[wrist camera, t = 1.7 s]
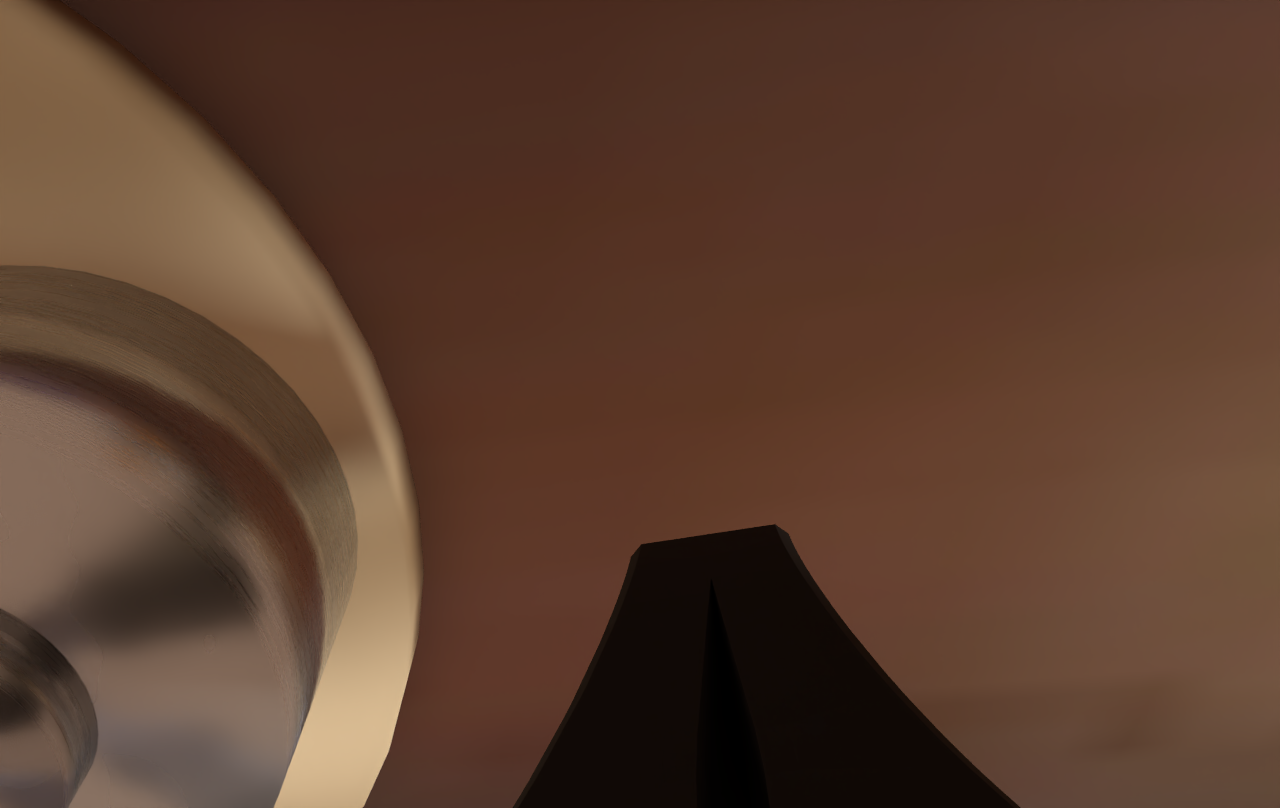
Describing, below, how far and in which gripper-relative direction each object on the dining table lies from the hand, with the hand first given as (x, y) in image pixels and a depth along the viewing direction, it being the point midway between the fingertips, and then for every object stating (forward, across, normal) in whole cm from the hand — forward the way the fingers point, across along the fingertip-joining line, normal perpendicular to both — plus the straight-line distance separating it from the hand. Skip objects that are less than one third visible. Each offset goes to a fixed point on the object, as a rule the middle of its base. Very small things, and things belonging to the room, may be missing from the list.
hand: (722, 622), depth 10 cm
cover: (+4, +8, 0) cm, 9 cm away
